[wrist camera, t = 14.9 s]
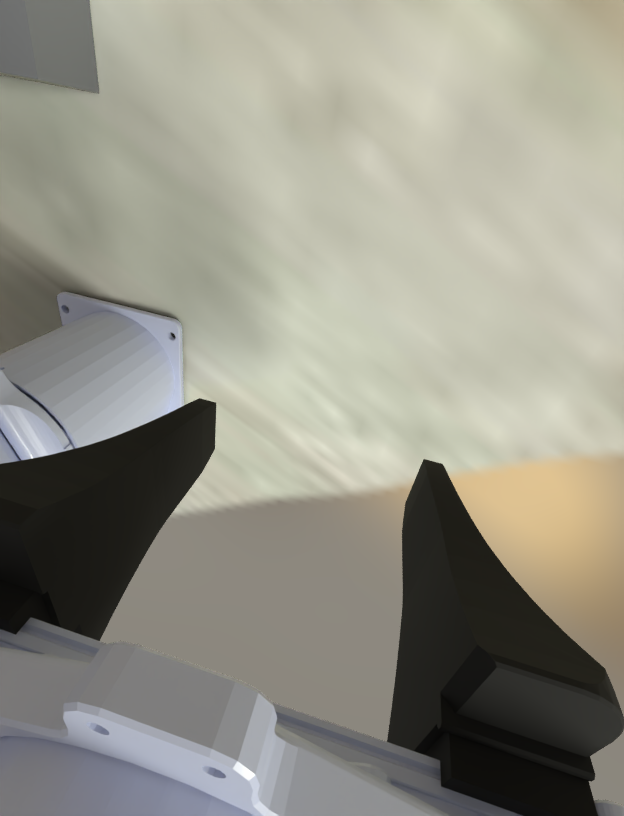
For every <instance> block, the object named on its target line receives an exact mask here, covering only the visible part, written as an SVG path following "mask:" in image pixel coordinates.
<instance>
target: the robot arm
mask: <svg viewBox="0 0 624 816" xmlns="http://www.w3.org/2000/svg"><path fill="white" fill-rule="evenodd" d="M57 302H58V307H59V312H60V317H61V321H62V327H60V328H58V329H55V330H53V331H51V332H49V333H46V334H44V335H42V336H40V337H38V338H35V339H33V340H31V341H29V342H26V343H24V344H22V345H20V346H17V347H15V348H13V349H11V350H9V351H6V352H4V353H2V354H0V816H624V805H622V804H619V803H616V802H612V801H608V800H595V801H594V800H593V796H592V792H591V789H590V785H589V781H593V780H594V779H595V773H594V769H593V766H592V762H591V759H590V756H591V755H592V754H594V753H596V752H597V751H599V750H600V749H602V748H604V747H605V746H607V745H608V744H610V743H612V742H613V741H614V740H615V739H616V738H618V737H619V736H620V735H621V733H622V732H623V729H624V717H623V714H622V711H621V708H620V705H619V703H618V700H617V697H616V694H615V691H614V689H613V686H612V684H611V682H610V679H609V677H608V675H607V673H606V670H605V668H604V667H602V666H601V665H600V664H599V663H598V662H597V661H596V660H594V659H593V658H592V657H591V656H590V655H589V654H588V653H587V652H586V651H585V650H583V649H582V648H581V647H580V646H579V645H578V644H577V643H576V642H574V641H573V640H572V639H571V638H570V637H569V636H568V635H567V634H566V633H565V632H564V631H562V629H561V628H559V626H558V625H556V624H555V623H554V622H553V620H552V619H550V618H549V616H547V615H546V614H545V613H544V612H543V610H541V608H540V607H539V606H538V605H537V604H536V603H535V602H534V601H533V600H532V599H531V598H530V597H529V595H528V594H527V593H526V592H525V591H524V590H523V589H522V587H521V586H520V585H519V584H518V583H517V582H516V581H515V579H514V578H513V577H512V576H511V575H510V573H509V572H508V571H507V570H506V568H505V567H504V566H503V565H502V563H501V562H500V560H499V559H498V558H497V556H496V555H495V554H494V552H493V551H492V550H491V548H490V547H489V546H488V544H487V543H486V541H485V540H484V538H483V537H482V535H481V533H480V532H479V530H478V529H477V527H476V526H475V524H474V522H473V521H472V519H471V517H470V516H469V514H468V512H467V510H466V508H465V507H464V505H463V503H462V501H461V499H460V497H459V496H458V494H457V492H456V490H455V488H454V486H453V484H452V482H451V480H450V478H449V476H448V474H447V472H446V470H445V468H444V466H443V464H440V463H436V462H433V461H429V460H425V459H424V460H423V462H422V465H421V467H420V469H419V472H418V474H417V477H416V479H415V481H414V484H413V486H412V489H411V491H410V494H409V496H408V498H407V501H406V504H405V511H404V519H403V528H402V529H403V530H402V554H403V555H402V558H403V559H402V561H403V608H402V619H401V630H400V641H399V651H398V660H397V669H396V677H395V687H394V694H393V703H392V710H391V718H390V725H389V732H388V740H387V742H386V741H383V740H380V739H377V738H374V737H371V736H369V735H366V734H363V733H360V732H357V731H354V730H351V729H349V728H346V727H343V726H340V725H337V724H334V723H331V722H329V721H326V720H323V719H320V718H317V717H314V716H311V715H309V714H306V713H303V712H300V711H297V710H294V709H291V708H289V707H286V706H283V705H280V704H277V703H274V702H272V701H271V700H270V699H269V698H268V697H267V696H265V695H264V694H263V693H262V692H261V691H260V690H259V689H257V688H255V687H253V686H251V685H249V684H247V683H245V682H243V681H241V680H239V679H237V678H234V677H231V676H228V675H225V674H222V673H219V672H217V671H214V670H211V669H208V668H205V667H202V666H199V665H196V664H193V663H190V662H188V661H185V660H182V659H179V658H176V657H173V656H170V655H168V654H165V653H162V652H159V651H156V650H153V649H150V648H147V647H145V646H142V645H138V644H133V643H129V642H124V641H118V642H114V643H109V644H106V643H103V642H100V639H101V637H102V635H103V633H104V631H105V629H106V627H107V625H108V623H109V620H110V618H111V616H112V614H113V613H114V611H115V609H116V607H117V605H118V603H119V601H120V599H121V597H122V596H123V594H124V592H125V590H126V588H127V586H128V584H129V582H130V581H131V579H132V577H133V575H134V573H135V572H136V570H137V568H138V566H139V564H140V563H141V561H142V559H143V557H144V556H145V554H146V552H147V550H148V548H149V547H150V545H151V544H152V542H153V540H154V539H155V537H156V535H157V533H158V532H159V530H160V529H161V528H162V526H163V525H164V523H165V522H166V520H167V519H168V517H169V516H170V515H171V513H172V512H173V511H174V509H175V508H176V507H177V505H178V504H179V503H180V501H181V500H182V499H183V497H184V496H185V495H186V493H187V492H188V491H189V489H190V488H191V487H192V485H193V484H194V483H195V481H196V480H197V478H198V477H199V476H200V474H201V473H202V471H203V469H204V468H205V466H206V464H207V462H208V461H209V459H210V457H211V455H212V453H213V451H214V449H215V425H216V403H215V402H211V401H207V400H204V399H197V400H195V401H193V402H190V403H188V404H186V405H184V389H183V347H182V326H181V324H180V322H179V321H178V320H176V319H174V318H170V317H166V316H162V315H158V314H154V313H150V312H146V311H142V310H138V309H134V308H130V307H126V306H122V305H118V304H114V303H110V302H106V301H102V300H98V299H94V298H90V297H86V296H82V295H78V294H74V293H70V292H61V293H59V294H58V295H57ZM66 306H67V307H68V308H69V310H68V309H67V307H66ZM171 332H172V333H174V335H175V337H176V338H174V337H173V336H172V335H171Z"/></svg>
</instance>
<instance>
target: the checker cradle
mask: <svg viewBox="0 0 624 816" xmlns="http://www.w3.org/2000/svg"><path fill="white" fill-rule="evenodd" d="M0 75H4V76H9V77H14V78H20V79H25V80H30V81H35V82H41V83H46V84H51V85H57V86H62V87H67V88H72V89H78V90H83V91H88V92H94V93H99V87H98V78H97V69H96V59H95V50H94V41H93V32H92V23H91V13H90V4H89V0H0Z"/></svg>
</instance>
